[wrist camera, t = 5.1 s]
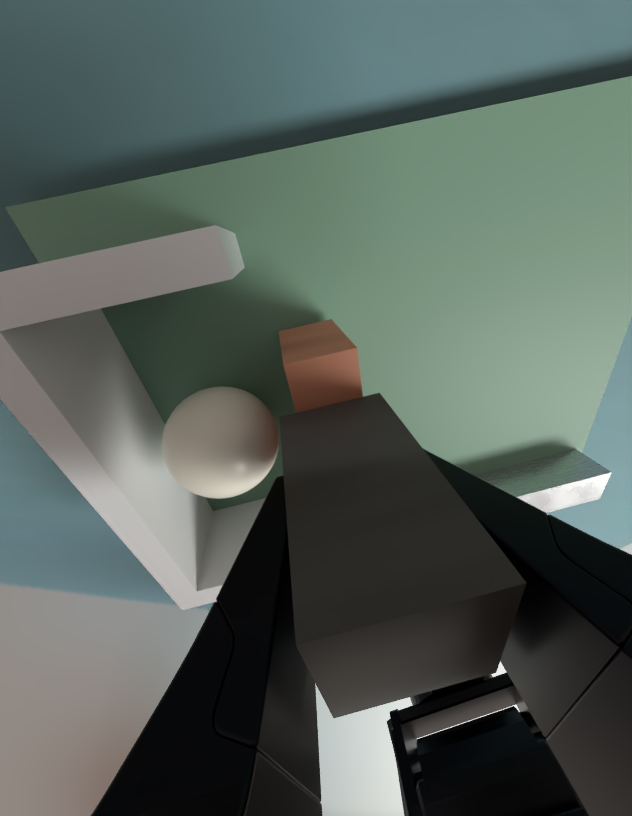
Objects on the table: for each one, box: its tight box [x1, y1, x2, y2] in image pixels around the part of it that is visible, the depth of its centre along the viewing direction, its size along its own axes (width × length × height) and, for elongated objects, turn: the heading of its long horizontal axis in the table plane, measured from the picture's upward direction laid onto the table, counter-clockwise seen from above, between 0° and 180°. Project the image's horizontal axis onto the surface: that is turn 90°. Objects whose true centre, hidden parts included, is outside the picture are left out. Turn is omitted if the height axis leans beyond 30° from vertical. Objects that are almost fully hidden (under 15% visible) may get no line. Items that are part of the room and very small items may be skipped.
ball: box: [162, 386, 279, 499], centre depth 11 cm, size 4×4×4 cm
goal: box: [0, 225, 265, 610], centre depth 10 cm, size 12×6×4 cm, turn 13°
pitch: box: [5, 76, 632, 511], centre depth 13 cm, size 18×22×1 cm
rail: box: [475, 449, 612, 513], centre depth 16 cm, size 2×21×2 cm, turn 103°
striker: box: [279, 319, 527, 718], centre depth 10 cm, size 13×3×9 cm, turn 13°
